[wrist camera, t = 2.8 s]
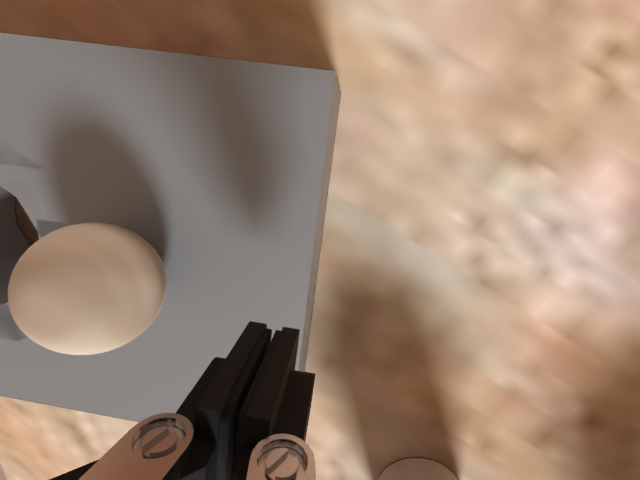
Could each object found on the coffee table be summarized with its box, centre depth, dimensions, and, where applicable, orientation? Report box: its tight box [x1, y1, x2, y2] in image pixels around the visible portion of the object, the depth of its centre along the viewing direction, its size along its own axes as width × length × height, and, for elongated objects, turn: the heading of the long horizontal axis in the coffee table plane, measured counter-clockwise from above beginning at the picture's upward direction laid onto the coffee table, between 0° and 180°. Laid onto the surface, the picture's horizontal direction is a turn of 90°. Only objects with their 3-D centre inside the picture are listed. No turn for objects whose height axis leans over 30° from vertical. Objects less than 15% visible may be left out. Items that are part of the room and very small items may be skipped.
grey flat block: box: [0, 33, 341, 422], centre depth 18 cm, size 18×22×5 cm
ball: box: [8, 222, 167, 355], centre depth 13 cm, size 5×5×5 cm
